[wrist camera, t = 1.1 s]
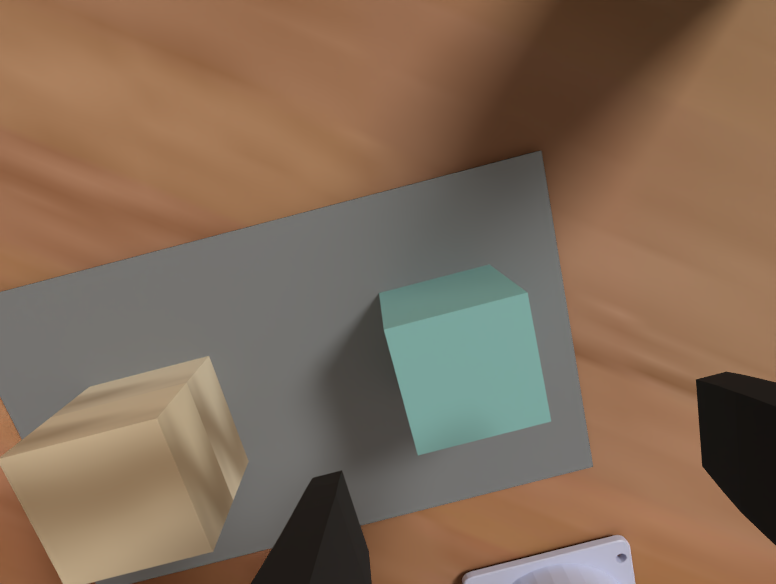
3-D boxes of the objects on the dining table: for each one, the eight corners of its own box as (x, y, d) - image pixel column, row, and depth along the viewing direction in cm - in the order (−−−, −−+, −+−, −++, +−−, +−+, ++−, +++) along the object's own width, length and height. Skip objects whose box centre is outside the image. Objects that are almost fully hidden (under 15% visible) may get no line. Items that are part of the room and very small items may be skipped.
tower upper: (233, 500, 18) (213, 551, 16) (105, 532, 18) (66, 588, 16) (186, 382, 17) (156, 418, 14) (49, 417, 17) (-4, 459, 14)
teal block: (510, 366, 20) (551, 421, 16) (405, 393, 20) (417, 455, 16) (489, 264, 19) (527, 292, 14) (378, 293, 19) (383, 329, 14)
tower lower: (248, 461, 20) (233, 500, 18) (136, 490, 20) (105, 532, 18) (208, 355, 19) (186, 382, 17) (89, 386, 19) (49, 417, 17)
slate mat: (590, 462, 22) (593, 466, 21) (103, 586, 22) (99, 591, 22) (538, 151, 18) (541, 150, 18) (-41, 302, 18) (-47, 304, 18)
